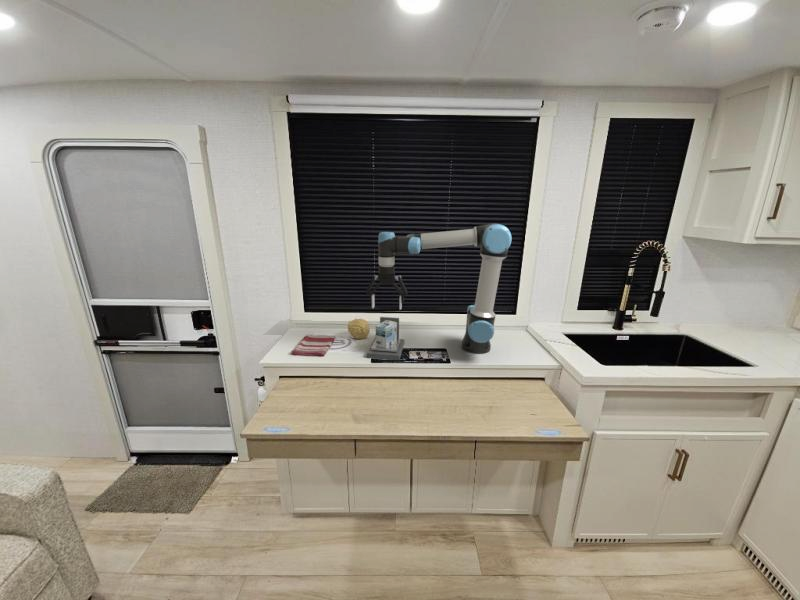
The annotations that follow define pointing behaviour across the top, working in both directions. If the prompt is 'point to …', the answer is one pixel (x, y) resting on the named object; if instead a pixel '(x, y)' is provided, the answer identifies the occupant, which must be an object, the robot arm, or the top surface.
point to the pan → (391, 348)
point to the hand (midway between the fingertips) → (386, 308)
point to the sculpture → (359, 328)
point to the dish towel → (314, 345)
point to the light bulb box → (386, 333)
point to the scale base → (387, 354)
